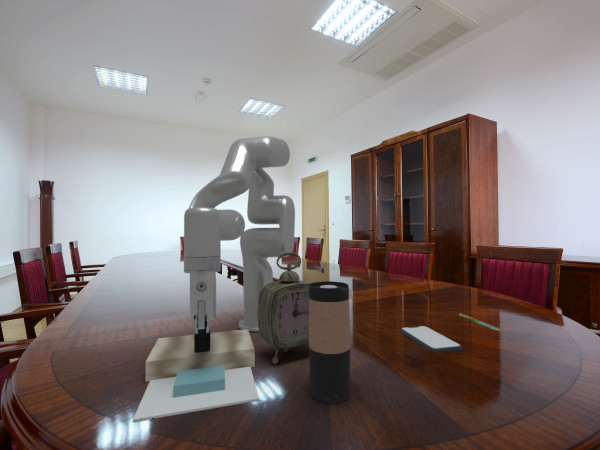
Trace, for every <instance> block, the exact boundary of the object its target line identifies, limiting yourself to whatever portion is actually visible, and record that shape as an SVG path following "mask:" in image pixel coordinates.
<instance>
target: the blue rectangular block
mask: <svg viewBox="0 0 600 450" xmlns="http://www.w3.org/2000/svg"><path fill="white" fill-rule="evenodd" d="M220 390H225V366H224V365H222V366H214V367H206V368H199V369H191V370H183V371H178V373H177V376H176V379H175V383H174V386H173V397H180V396H187V395H193V394H200V393H207V392H213V391H220Z"/></svg>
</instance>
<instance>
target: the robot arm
mask: <svg viewBox="0 0 600 450" xmlns="http://www.w3.org/2000/svg"><path fill="white" fill-rule="evenodd" d="M290 158H291V151H290V147H289V145H288V143H287V141H285V140H284V139H282V138H277V137H275V136H274V137H273V136H256V137H255V136H254V137H245V138H239V139H237V140H235V141H233V143H231V145H230V147H229V150H228V153H227V155H226V157H225V161H224V163H223V165H222V168H221V171H220V173H219V175H218V176H216V177H215V178H213V179H212V180H210V181H209V182H208V183H207V184H205V185H204V186H203V187H202V188H201V189H199V191H198V192H197V193H196V194H195V195H194V197H193V198H192V199H191V202H190V204H189V207H188V208H186V210H185V211H184V214H183V273H185V274H189V310H190V321H191V322H193V323H194V324H195V325H194V333H193V335H194V352H195V353H200V352H208V351H210V333H211V329H210V320H212V321H213V322H214V321H216V319H217V276H216V273H218V272H221V268H222V267H221V265H222V264H221V256H222V255H221V250H222V249H221V246H222V245H221V243H222V242H221V241H223V242H224V241H227V242H228V241H235V240H238V239H239V246H240V251H241V258H242V270H243V271H242V273H243V274H242V275H243V276H242V279H243V283H242V284H243V287H242V288H243V289H242V291H243V296H242V297H243V298H242V299H243V319H241V320H240V321H239V322H238V328H239V330H245V329H248V331H249V332H259V327H258V316H257V309H258V297H259V292H260V289H261V287H262V286H264V285H265V284H268V283H271V282H274V272H273V268H272V266H271V264H270V262H269V261H268V260H267V258H278V257H279V256H280V255H282V254H283V253H290V252H291V253H294V248H295V247H294V246H295V231H296V230H295V225H296V224H295V223H296V208H295V203H294V201H293V199H292V197H291V196H288V195H283V194H281V195H275V192H274V191H275V183H274V180H273V178H272V177H271V176H270V175H269V173H267V172H266V171H265V170H264V169H265V168H266V169H267V168H278V167H279V168H280V167H285V166H287V165H288V163H289V162H290ZM263 168H264V169H263ZM247 191H248V194H247V195H248V196H247V207H246V208H247V210H246V213H247V219H248V222H249V223H250V224H253V225H265V226H266V225H278V226H279V227H252V228H248V229H245V228H246V222H245V218H244V217H243V215H242V214H241V213H240V211H237V210H235V209H227V208H226V209H217V208H216V207H218V206H220V204H222V203H224V202H227V201H229V200H233V199H234V198H237V197H238V196H240V195H243V194H244V193H247ZM290 256H291V255H287V256H283V257H282V258H287V257H290Z"/></svg>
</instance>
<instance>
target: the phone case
mask: <svg viewBox="0 0 600 450" xmlns="http://www.w3.org/2000/svg"><path fill="white" fill-rule="evenodd" d="M400 333H401V334H402V335H404V336H406V337H407V338H408V339H410V340H412V341H413V342H415V343H417V344H418V345H419V346H421V347H423V348H424V349H426V350H428V351H429V352H431V353H435V354H438V353H446V352H458V351H462V350H463V349H462V345H461V344H459V343H458V342H456V341H454V340H452V339H450V338H449V337H446V336H445V335H443V334H441V333H439V332H437V331H435V330H433V329H432V328H430V327H428V326H425V325H419V326H408V327H407V326H406V327H401V328H400Z"/></svg>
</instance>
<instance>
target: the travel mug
mask: <svg viewBox="0 0 600 450" xmlns="http://www.w3.org/2000/svg"><path fill="white" fill-rule="evenodd" d="M310 283H311V284H309V344H308V356H309V357H308V359H309V376H310V378H309V379H310V391H311V392H310V394H311V396H312V398H313V399H314V400H316V401H317V402H320V403H323V404H329V405H335V404H336V405H337V404H341V403H344V402H345V401H347V400H348V399H349V397H350V391H351V390H350V388H351V387H350V385H351V327H350V326H351V321H350V318H351V317H350V287H349V284H348V283H346V282H341V281H330V280H329V281H327V280H326V281H315V282H310Z"/></svg>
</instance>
